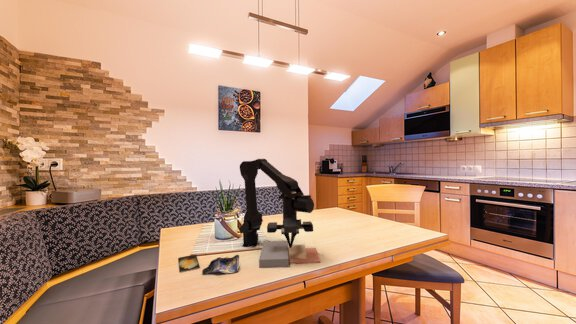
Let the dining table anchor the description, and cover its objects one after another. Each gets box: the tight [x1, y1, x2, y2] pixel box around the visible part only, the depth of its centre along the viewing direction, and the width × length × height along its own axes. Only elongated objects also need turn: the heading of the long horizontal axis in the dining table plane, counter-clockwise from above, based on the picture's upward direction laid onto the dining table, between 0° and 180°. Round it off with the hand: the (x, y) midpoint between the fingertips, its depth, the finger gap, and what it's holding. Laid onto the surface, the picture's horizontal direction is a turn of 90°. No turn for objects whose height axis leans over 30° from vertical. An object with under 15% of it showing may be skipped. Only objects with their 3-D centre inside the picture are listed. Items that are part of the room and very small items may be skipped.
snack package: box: [201, 254, 240, 275], centre depth 87 cm, size 12×7×12 cm
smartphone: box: [177, 254, 201, 274], centre depth 94 cm, size 7×1×15 cm
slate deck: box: [258, 240, 290, 269], centre depth 99 cm, size 11×20×3 cm, turn 0°
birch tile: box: [288, 244, 307, 259], centre depth 99 cm, size 7×9×2 cm
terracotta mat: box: [288, 247, 321, 264], centre depth 99 cm, size 12×14×1 cm
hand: (290, 247), depth 99 cm, fingers closed
